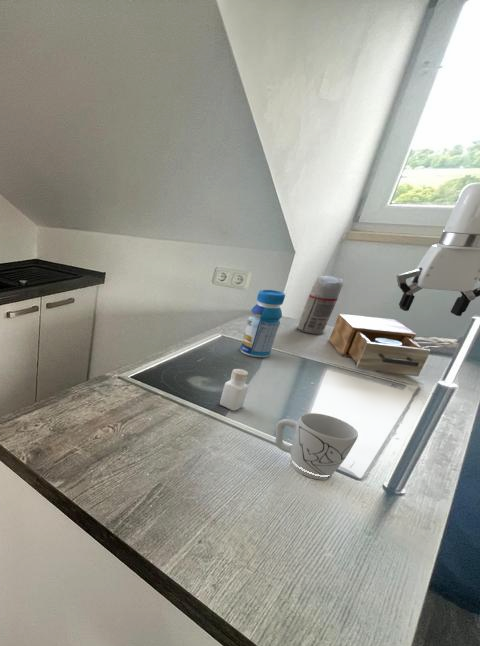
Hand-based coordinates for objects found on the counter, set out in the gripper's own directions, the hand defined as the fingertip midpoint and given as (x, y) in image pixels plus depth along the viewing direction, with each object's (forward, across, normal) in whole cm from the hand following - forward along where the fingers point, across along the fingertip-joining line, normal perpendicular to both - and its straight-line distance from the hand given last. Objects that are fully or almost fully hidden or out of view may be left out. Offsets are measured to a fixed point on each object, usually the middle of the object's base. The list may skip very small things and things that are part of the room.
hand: (428, 311), depth 96 cm
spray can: (+21, +11, -41) cm, 47 cm away
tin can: (+18, 0, -13) cm, 22 cm away
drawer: (+20, 0, -11) cm, 22 cm away
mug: (+21, +30, +50) cm, 62 cm away
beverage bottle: (+21, +32, -9) cm, 39 cm away
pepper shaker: (+21, +41, +31) cm, 56 cm away
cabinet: (+20, 0, -25) cm, 32 cm away
